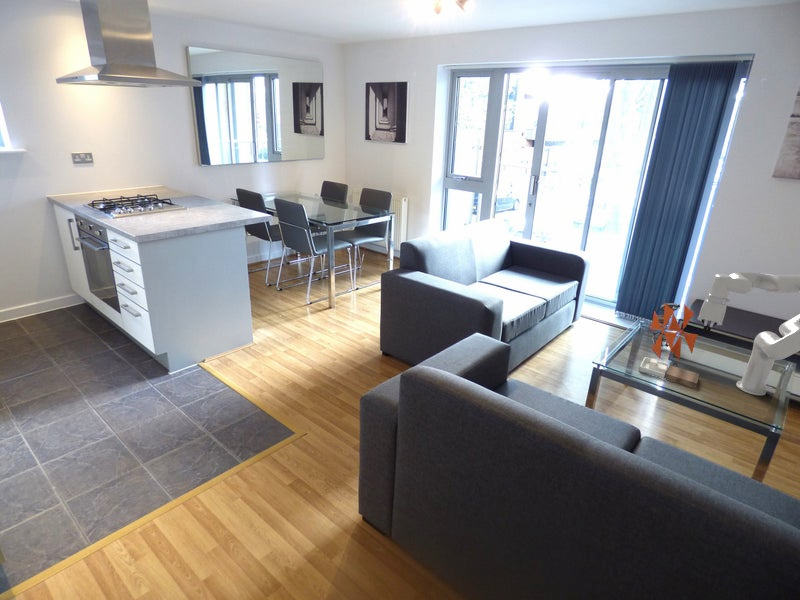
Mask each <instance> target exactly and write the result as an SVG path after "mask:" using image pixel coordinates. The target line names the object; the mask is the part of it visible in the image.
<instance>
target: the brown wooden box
mask: <svg viewBox="0 0 800 600" xmlns="http://www.w3.org/2000/svg"><path fill="white" fill-rule="evenodd" d="M699 376H700V373H697V372H694V371H690V370H688V369H684V368H681V367H678V366H675V365H671V364H669V365H668V368H667V371H666V373H665V376H664V379H665V378H666V379H665V380H667V379H668V381H670V382H674V383H677V384H681V385H683V386H687V387H690V388H693V389H696V387H697V385H698V380H699Z"/></svg>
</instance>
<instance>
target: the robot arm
mask: <svg viewBox="0 0 800 600" xmlns="http://www.w3.org/2000/svg"><path fill="white" fill-rule="evenodd" d="M753 288H754V289H755V288H756V289H761V290H764V291H767V292H769V293H774V294H800V274H771V273H761V272H754V271H751V272H747V271H746V272H745V271H743V272H734V273H731V274H725V273H717V274H715V275H714V277H713V280H712V283H711V287H710V289H709V293H708V296H707V298H705V299H704V301H703V303H702V305H701V307H700V310H699V314H698V316H697V319H696V320H698V321H700V322H702V324H703V329H702V331H703V334H706V335H708V333H710V332H711V329H712V328H713V327H715V326H723V322H724V318H725V315H726V311H727V307H728V306H727V304H728V303H730V301H731V299H729V298H728V296H729V293H730V292H732V293H735V294H739V295H745V294H749V293H751V292H752V291H753ZM708 322H710V323H709V324H708ZM778 331H779V334H780V335H781V336H782V337H780V336H779V335H778V334H776V333H775V332H772V331H769V330H766V331H762V332H759V333H758V334H757V335H756V336H755V338H754V340H753V346H752V350H751V354H750V357H749V359H748V362H747V365H746V368H745V370H744V373H743V375H742V378H741V380H738V381H737V382H736V384H735V385H736V387H737V388H738V389H739V390H741V391H743V392H745V393H747V394H750V395H754V396H759V397H760V396H766V394H767V393H771V394H775V393H776V389H774V388H773V387H771V386H768V385H767V381H768V379H769V376H770V374H771V371H772V369H773V367H774V363H775V361H779V360H784V359H786V358H788V357H790V356H792V355H794V354H796V353H798V352H800V313H798V314H797V315H795V316H794V317H792V318H790V319H788V320H787V321H785V322H783V323H781V324H780V325H779V327H778Z"/></svg>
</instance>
